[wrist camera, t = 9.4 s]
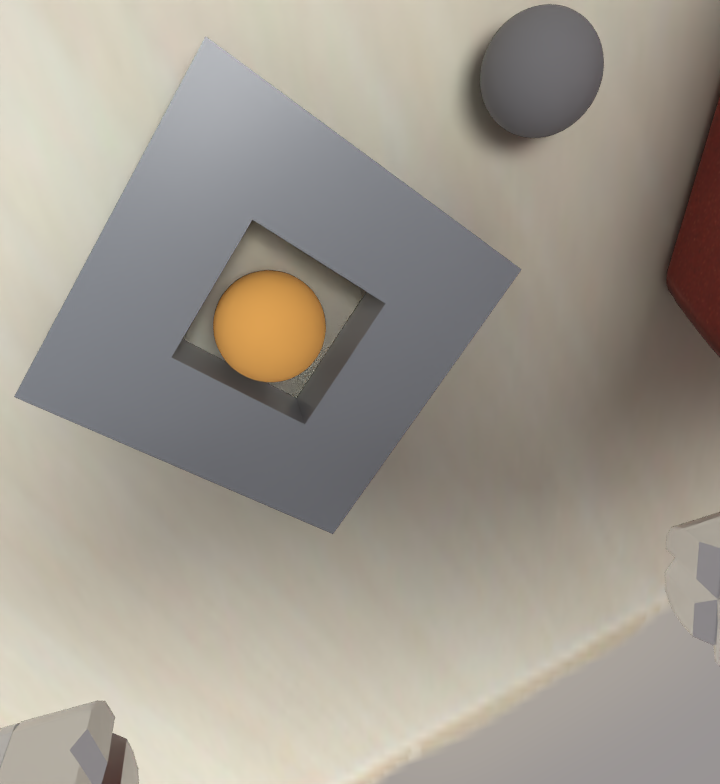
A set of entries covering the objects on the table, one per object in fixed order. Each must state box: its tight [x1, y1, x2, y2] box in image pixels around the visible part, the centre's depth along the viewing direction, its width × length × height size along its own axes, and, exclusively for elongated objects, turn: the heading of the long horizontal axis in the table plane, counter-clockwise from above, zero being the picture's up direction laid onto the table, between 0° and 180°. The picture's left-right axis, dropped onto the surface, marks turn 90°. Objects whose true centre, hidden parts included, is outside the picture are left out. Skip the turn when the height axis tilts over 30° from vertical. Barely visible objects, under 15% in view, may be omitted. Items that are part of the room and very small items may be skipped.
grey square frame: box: [14, 37, 521, 534], centre depth 23 cm, size 13×13×2 cm
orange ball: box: [213, 270, 326, 382], centre depth 22 cm, size 4×4×4 cm
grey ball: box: [480, 4, 604, 138], centre depth 21 cm, size 4×4×4 cm
